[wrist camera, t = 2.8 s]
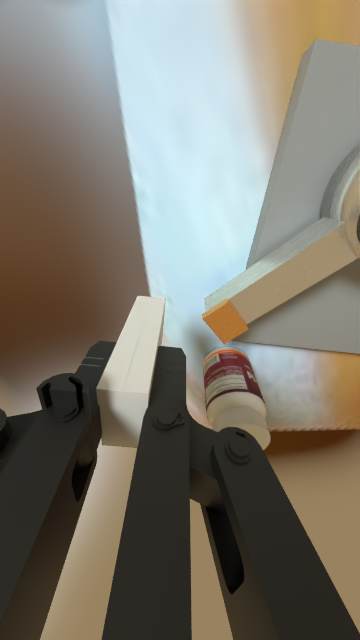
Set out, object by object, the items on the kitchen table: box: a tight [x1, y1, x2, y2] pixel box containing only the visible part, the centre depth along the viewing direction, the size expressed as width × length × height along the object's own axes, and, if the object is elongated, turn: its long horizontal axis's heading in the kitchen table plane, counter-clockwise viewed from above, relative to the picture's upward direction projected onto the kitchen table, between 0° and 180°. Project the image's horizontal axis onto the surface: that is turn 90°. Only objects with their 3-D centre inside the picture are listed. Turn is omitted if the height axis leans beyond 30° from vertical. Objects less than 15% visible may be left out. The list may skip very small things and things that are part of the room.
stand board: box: [232, 39, 360, 354], centre depth 16 cm, size 18×14×2 cm
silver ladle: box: [202, 144, 360, 344], centre depth 14 cm, size 16×7×4 cm, turn 129°
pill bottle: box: [203, 347, 270, 450], centre depth 20 cm, size 5×5×8 cm
